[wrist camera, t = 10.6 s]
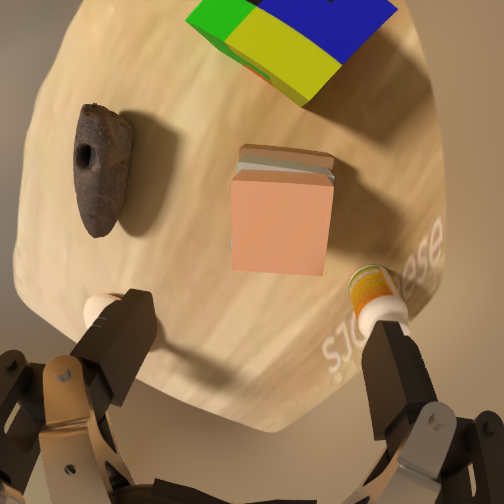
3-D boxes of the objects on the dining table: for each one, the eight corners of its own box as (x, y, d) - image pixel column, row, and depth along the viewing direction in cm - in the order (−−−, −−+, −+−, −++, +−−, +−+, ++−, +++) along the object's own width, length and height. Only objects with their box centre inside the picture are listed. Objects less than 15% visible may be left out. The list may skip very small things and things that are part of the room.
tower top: (245, 154, 23) (237, 161, 20) (327, 167, 23) (334, 176, 19) (237, 229, 26) (229, 248, 23) (312, 241, 26) (316, 262, 23)
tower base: (246, 143, 27) (239, 147, 23) (327, 152, 26) (334, 158, 22) (241, 219, 30) (235, 233, 27) (316, 227, 30) (320, 243, 26)
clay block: (241, 169, 20) (231, 180, 16) (325, 174, 19) (334, 186, 16) (241, 244, 23) (232, 270, 19) (317, 249, 22) (322, 276, 18)
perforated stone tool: (131, 232, 32) (100, 259, 26) (97, 221, 32) (64, 245, 26) (148, 106, 25) (112, 106, 19) (109, 101, 25) (69, 103, 19)
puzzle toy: (363, 40, 20) (398, 9, 11) (300, 107, 24) (309, 101, 15) (281, -16, 18) (277, -66, 9) (218, 50, 22) (184, 20, 13)
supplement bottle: (339, 292, 33) (352, 351, 24) (362, 256, 30) (386, 309, 22) (374, 306, 33) (393, 363, 24) (398, 273, 31) (427, 326, 22)
